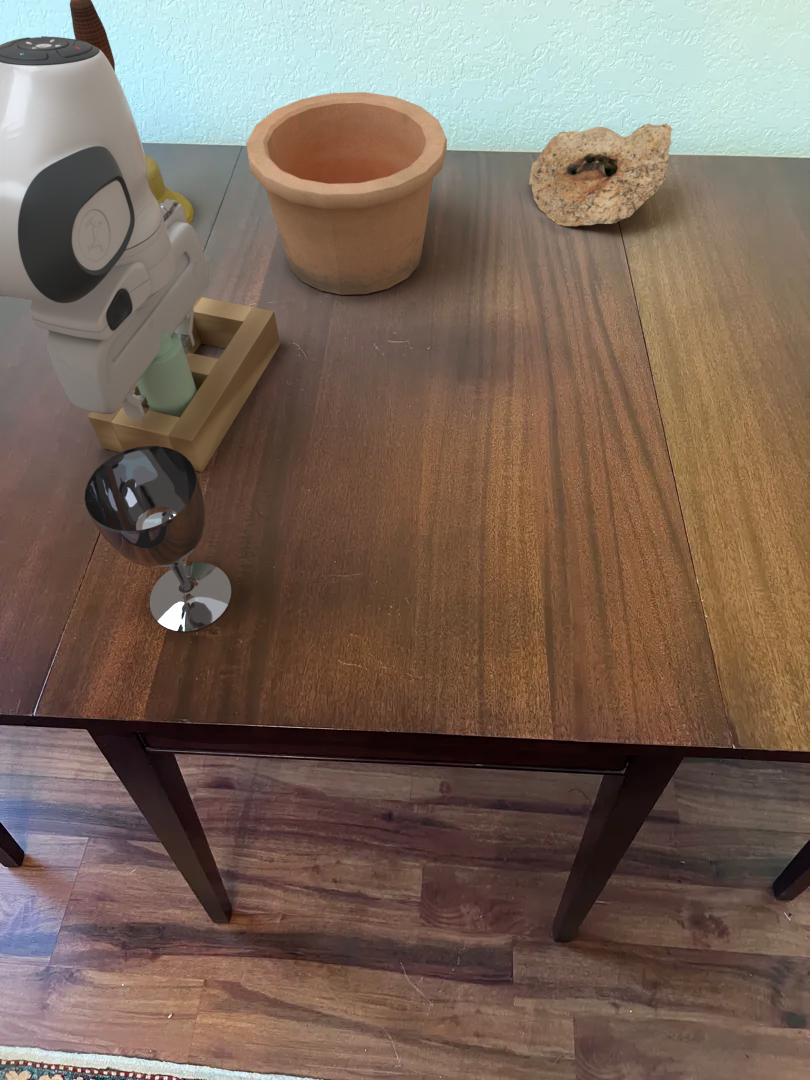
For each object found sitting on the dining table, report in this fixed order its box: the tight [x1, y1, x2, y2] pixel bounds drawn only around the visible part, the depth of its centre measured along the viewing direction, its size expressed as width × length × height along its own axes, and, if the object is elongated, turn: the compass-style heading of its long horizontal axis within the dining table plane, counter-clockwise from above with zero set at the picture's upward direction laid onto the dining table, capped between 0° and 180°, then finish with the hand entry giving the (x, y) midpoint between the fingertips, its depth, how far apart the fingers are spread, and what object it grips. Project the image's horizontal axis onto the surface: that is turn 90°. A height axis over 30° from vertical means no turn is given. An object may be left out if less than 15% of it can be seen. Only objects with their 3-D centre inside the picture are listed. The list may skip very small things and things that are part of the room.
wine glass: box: [84, 446, 233, 633], centre depth 62 cm, size 8×8×15 cm
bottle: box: [137, 330, 197, 417], centre depth 74 cm, size 5×5×15 cm
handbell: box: [69, 0, 195, 225], centre depth 92 cm, size 12×12×25 cm
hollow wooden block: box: [87, 296, 281, 473], centre depth 81 cm, size 11×20×4 cm, turn 163°
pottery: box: [246, 91, 448, 296], centre depth 91 cm, size 22×22×14 cm
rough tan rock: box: [528, 123, 673, 227], centre depth 101 cm, size 18×14×8 cm
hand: (162, 380), depth 76 cm, fingers open, 8 cm apart
